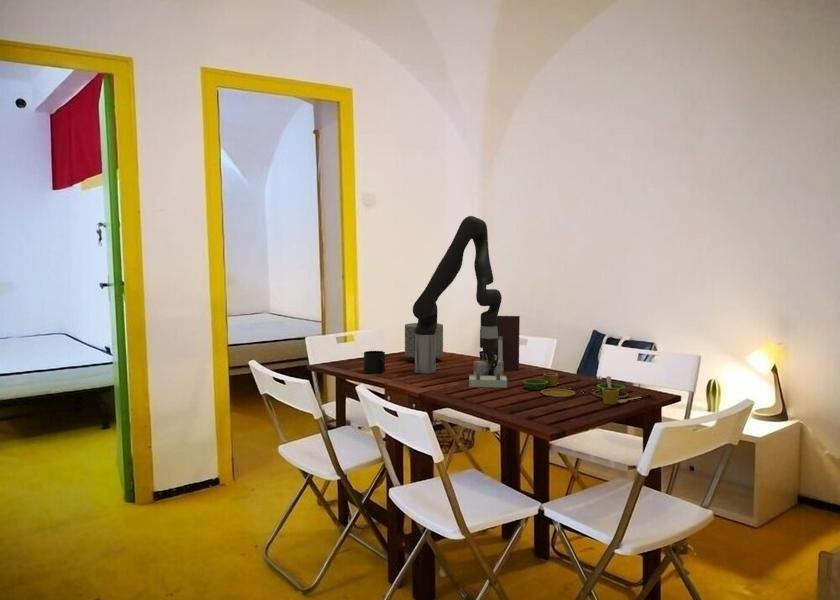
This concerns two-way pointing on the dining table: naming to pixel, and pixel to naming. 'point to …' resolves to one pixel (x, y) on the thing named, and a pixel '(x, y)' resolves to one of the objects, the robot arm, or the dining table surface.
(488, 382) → the grey pronged block
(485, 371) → the panel
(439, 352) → the planter
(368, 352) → the mug
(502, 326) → the dark maroon upright block
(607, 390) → the tableware set
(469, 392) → the dining table surface
